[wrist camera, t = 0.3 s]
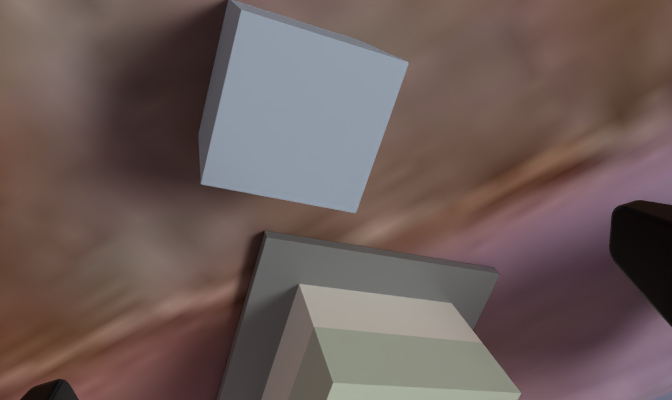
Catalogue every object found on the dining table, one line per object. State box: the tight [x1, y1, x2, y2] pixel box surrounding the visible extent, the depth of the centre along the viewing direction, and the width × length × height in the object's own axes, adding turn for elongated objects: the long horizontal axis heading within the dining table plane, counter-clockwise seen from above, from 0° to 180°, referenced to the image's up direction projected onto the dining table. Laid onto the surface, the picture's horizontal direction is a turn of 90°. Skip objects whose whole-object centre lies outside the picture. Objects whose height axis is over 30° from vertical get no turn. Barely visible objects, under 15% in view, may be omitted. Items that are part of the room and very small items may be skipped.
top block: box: [198, 0, 409, 213], centre depth 17 cm, size 5×5×5 cm
